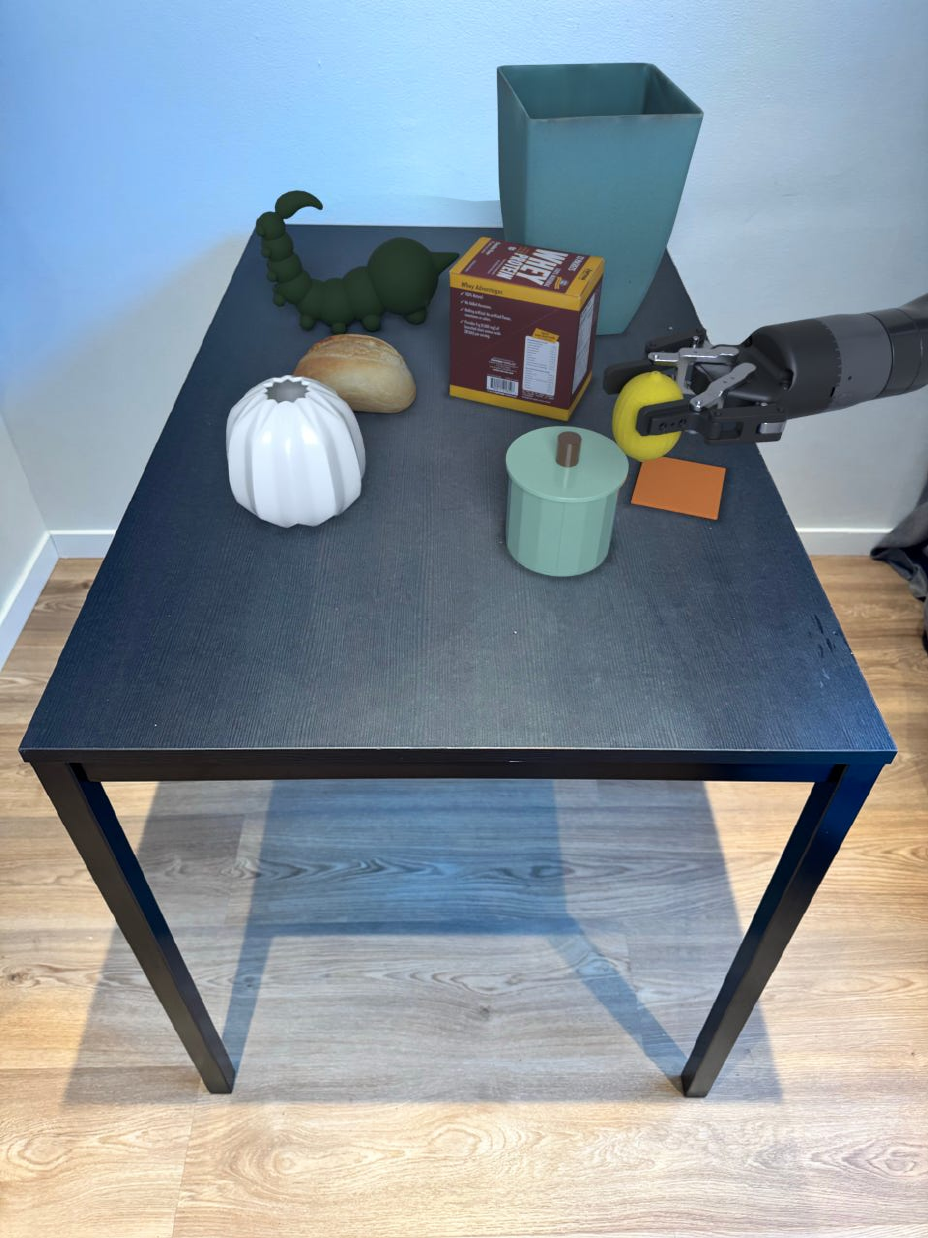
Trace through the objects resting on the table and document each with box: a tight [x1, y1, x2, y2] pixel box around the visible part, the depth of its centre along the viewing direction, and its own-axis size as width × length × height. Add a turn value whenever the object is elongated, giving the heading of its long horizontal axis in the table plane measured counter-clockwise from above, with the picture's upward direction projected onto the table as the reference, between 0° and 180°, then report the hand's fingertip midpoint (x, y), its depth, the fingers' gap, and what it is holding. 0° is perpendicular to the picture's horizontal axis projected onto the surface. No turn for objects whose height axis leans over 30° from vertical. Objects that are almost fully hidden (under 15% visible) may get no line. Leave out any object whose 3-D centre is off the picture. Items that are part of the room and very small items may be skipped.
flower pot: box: [496, 62, 705, 336], centre depth 111 cm, size 20×20×28 cm
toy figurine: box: [255, 189, 461, 335], centre depth 113 cm, size 9×19×25 cm
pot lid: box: [504, 425, 630, 503], centre depth 81 cm, size 11×11×4 cm
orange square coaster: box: [630, 456, 727, 521], centre depth 95 cm, size 9×9×1 cm
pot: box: [504, 475, 621, 577], centre depth 85 cm, size 10×10×9 cm
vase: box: [225, 374, 367, 529], centre depth 88 cm, size 14×14×13 cm
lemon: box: [611, 371, 684, 463], centre depth 69 cm, size 6×6×8 cm
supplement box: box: [448, 236, 605, 422], centre depth 103 cm, size 10×15×16 cm
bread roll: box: [291, 333, 417, 414], centre depth 103 cm, size 10×15×8 cm, turn 93°
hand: (622, 401), depth 67 cm, fingers closed on lemon, 5 cm apart
